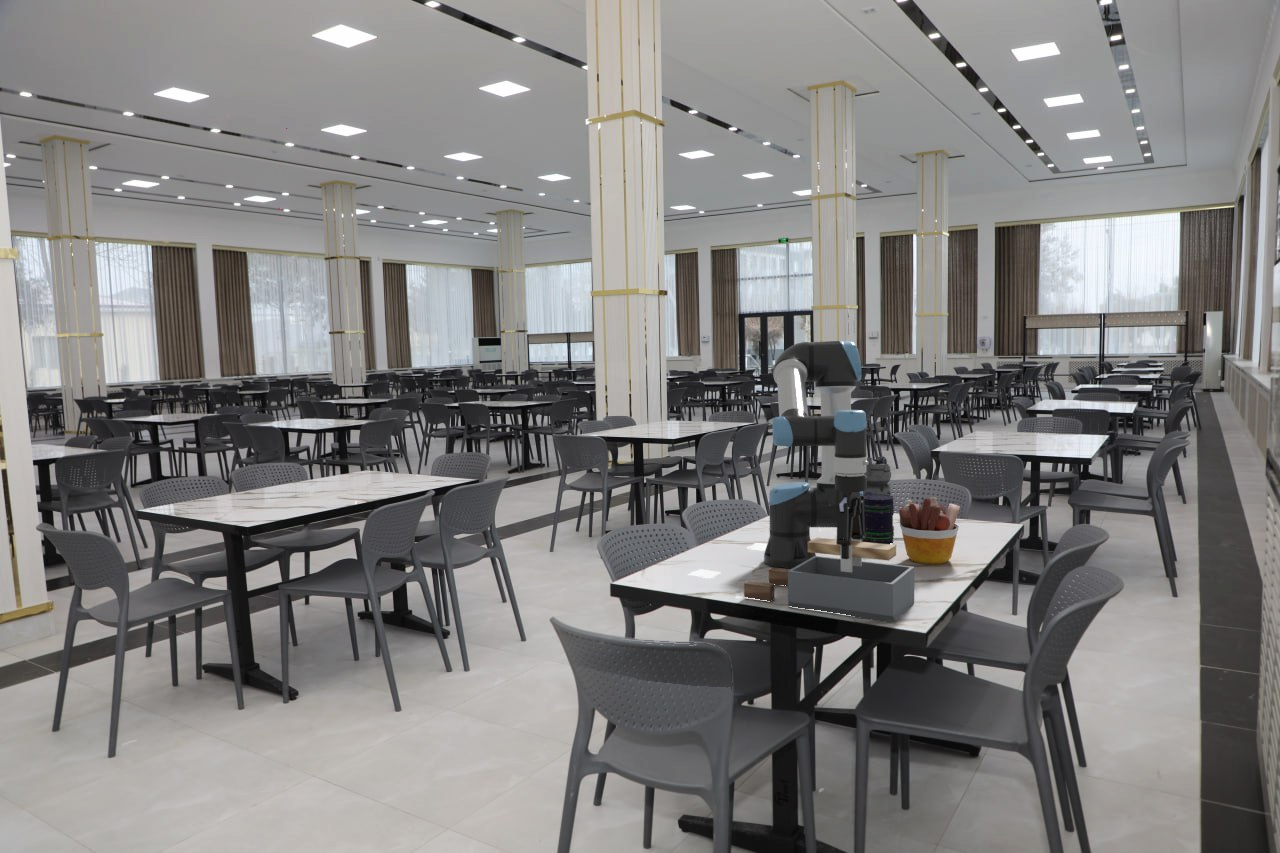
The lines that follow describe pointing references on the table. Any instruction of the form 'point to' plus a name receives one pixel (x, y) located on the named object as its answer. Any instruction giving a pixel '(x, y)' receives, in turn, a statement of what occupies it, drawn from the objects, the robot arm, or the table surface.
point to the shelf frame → (852, 588)
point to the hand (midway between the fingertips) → (851, 568)
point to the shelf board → (853, 549)
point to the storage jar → (878, 519)
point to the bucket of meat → (929, 530)
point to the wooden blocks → (766, 585)
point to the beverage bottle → (878, 477)
